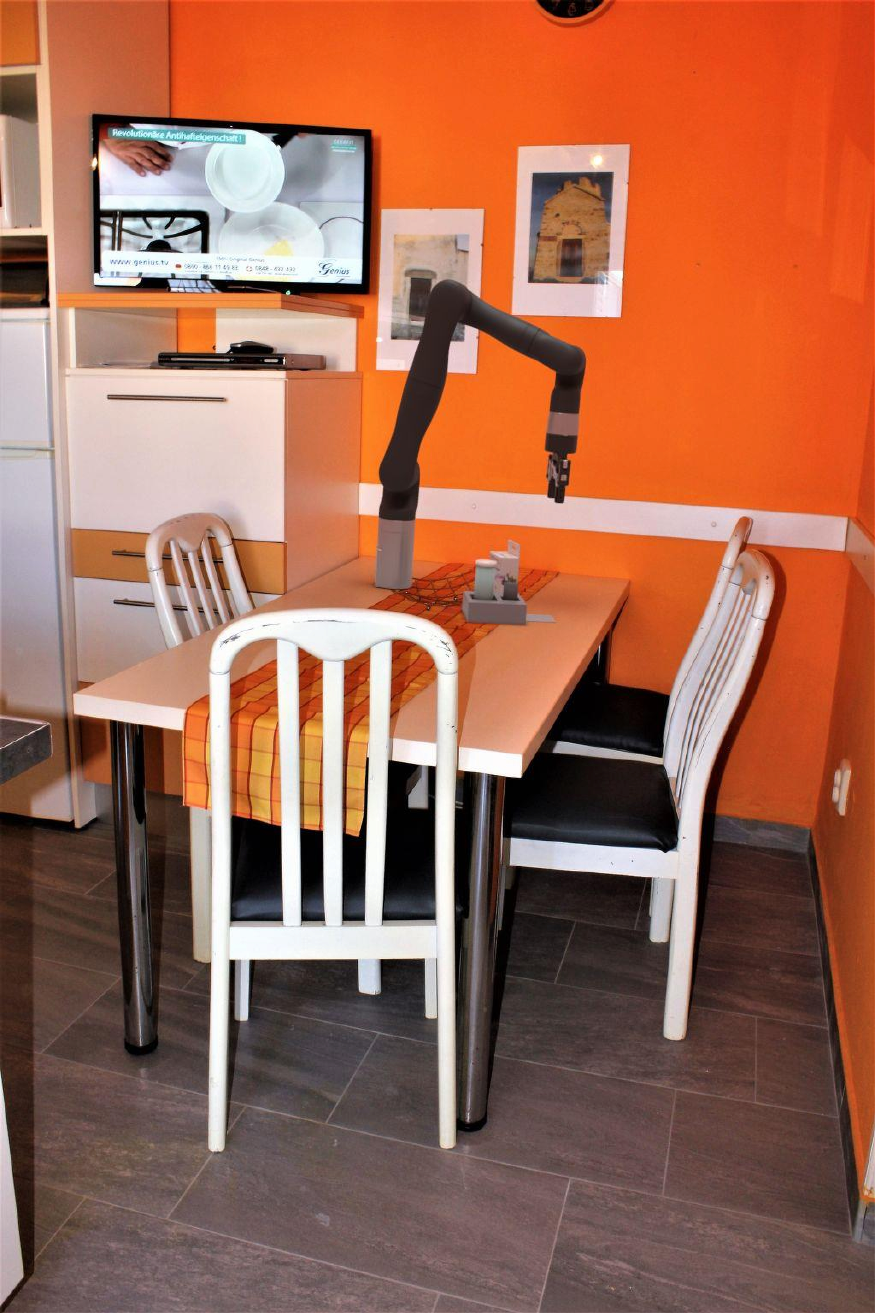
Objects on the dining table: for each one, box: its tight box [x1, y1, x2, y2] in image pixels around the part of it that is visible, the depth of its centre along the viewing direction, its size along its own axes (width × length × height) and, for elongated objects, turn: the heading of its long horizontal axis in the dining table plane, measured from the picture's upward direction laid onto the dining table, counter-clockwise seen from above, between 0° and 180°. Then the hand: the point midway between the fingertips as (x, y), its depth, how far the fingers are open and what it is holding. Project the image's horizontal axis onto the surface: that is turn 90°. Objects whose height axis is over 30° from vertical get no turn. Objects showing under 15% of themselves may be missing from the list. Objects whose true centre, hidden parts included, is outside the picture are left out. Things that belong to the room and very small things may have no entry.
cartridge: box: [473, 558, 497, 600], centre depth 252 cm, size 5×5×13 cm
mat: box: [526, 613, 556, 624], centre depth 256 cm, size 7×7×1 cm
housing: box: [461, 590, 528, 626], centre depth 253 cm, size 13×12×5 cm
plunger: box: [503, 582, 519, 601], centre depth 253 cm, size 3×3×6 cm
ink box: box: [489, 539, 521, 593], centre depth 272 cm, size 8×5×15 cm, turn 17°
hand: (555, 500), depth 268 cm, fingers open, 8 cm apart
